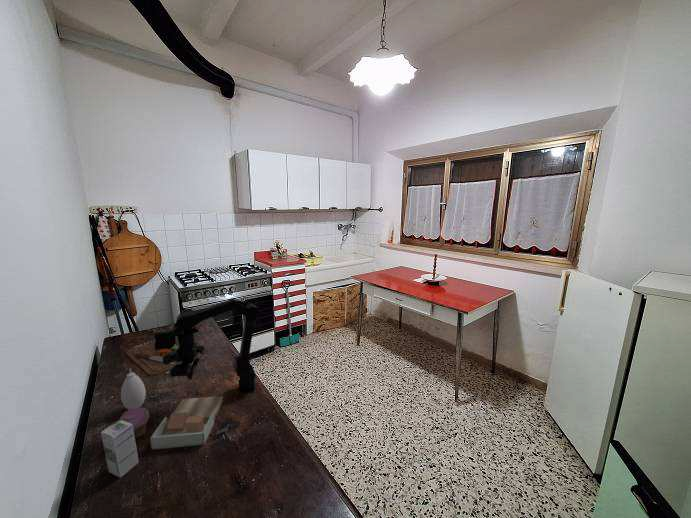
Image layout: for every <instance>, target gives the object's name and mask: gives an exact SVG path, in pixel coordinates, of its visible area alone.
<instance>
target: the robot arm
mask: <svg viewBox="0 0 691 518" xmlns="http://www.w3.org/2000/svg"><path fill="white" fill-rule="evenodd" d="M230 311H234V312H236V313H238V314H240V315H241V316H242V317H243V328H242V336H241V343H240V347H239V348H240V349H239V354H238V356H234V362H233V365H232V366H233V369H234V372H235V373H236V376H237V377H238V378H239V379H238V389H239V394H240V393H252V392H255V389H256V387H257V384H258V382H257V380H256V376H257V375H256V372H255V369H254V367H253V365H252V364H251V360H250V355H251V354H250V353H251V347H252V339H253V333H254V326H255V325H256V323H257V321H258V319H259V316H260V315H259V314H260V310H259V309H258V308H257V306H256V305H255V303H252V302H251V303H250V302H249V303H248V302H245V301H242V300H238V299H236V298H233V297H232V298H229V299H228V300H225V301H221V302H220V303H216V304H214V305H213V304H212V305H211V306H208V307H205V308H202V309H198V310H195V309H193V310H188V311H187V310H186V311H183V312H179V314H178V315H177V317H176V320H175V321H176V322H175V323H174V325H173V326H172V327H171V329H170V330H164V331H156V332H155V333H154V340H155V350H156V351H157V350H162V349H167V348H172V347H173V346H174V344H176V336H178V344H179V348H178V349H176V350H173V351H171V352H169V353H167V354H166V355H165V356H164V357H163V359H162V360H163V361H162V362H163V363H164V364H170V363H171V362H174V361H177V362H180V361H182V363H181V364H176V365H175V366H174V367H173V368H172V369H171V370H169V371H170V373H169V376H170V377H171V378H173V377H174V378H176V377H186V378H187V379H188V380H190V381H191V380H192V379H193V378H194V374H195V372H196V369H197V366H198V365H199V362H200V358H197V359H196V357H197V355H198V352H200V354H203V353H204V354H205V353H206V352H205V351H206V349H205V346H203V345H198V343H197V342H196V339H195V334H196V333H199V332H200V328H199V327H197V326H198V325H199V324H200V323H202V322H203V321H205V320H207V319H211V318H214V317H216V316H219V315H221V314H222V315H223V314H225V313H228V312H230Z"/></svg>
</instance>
